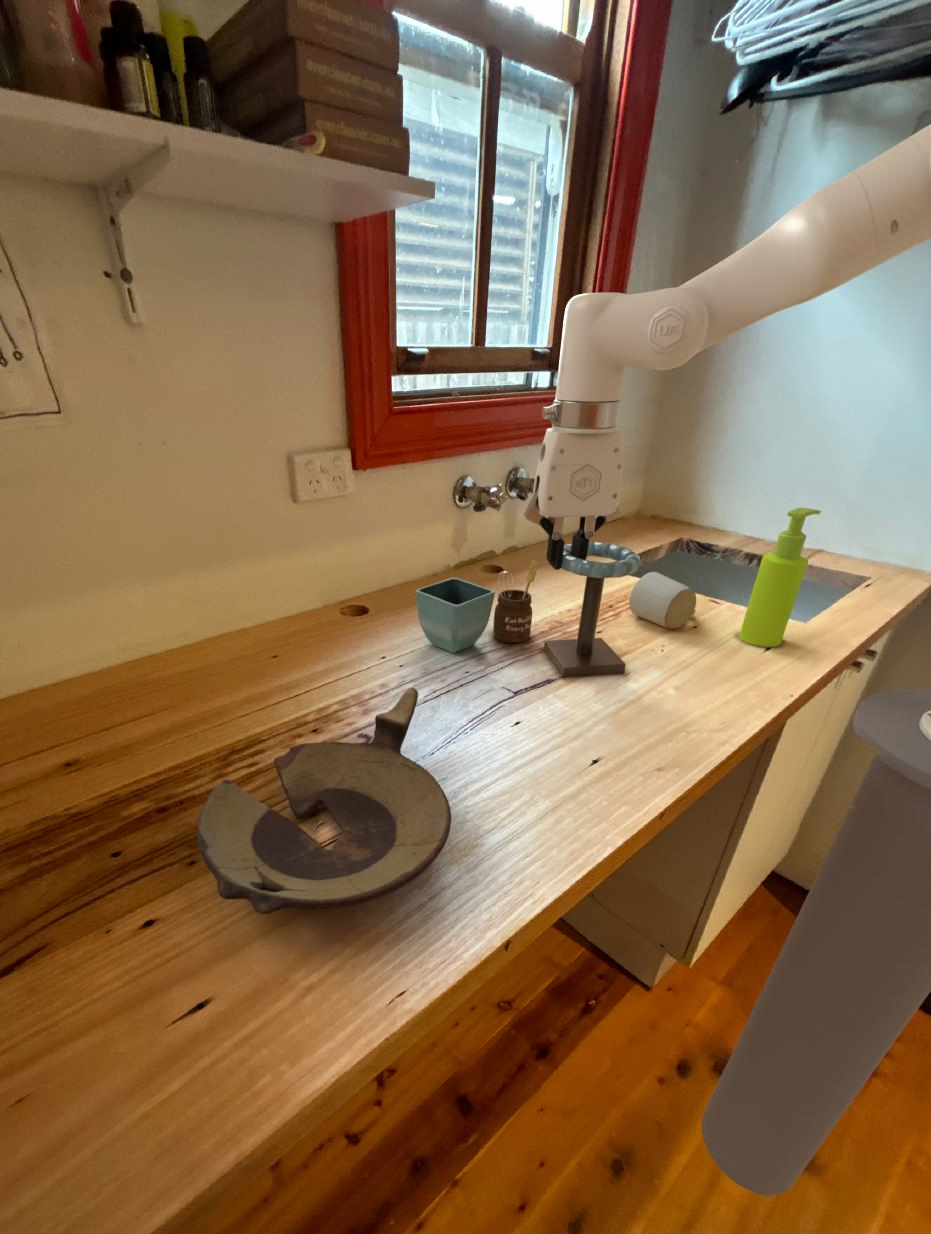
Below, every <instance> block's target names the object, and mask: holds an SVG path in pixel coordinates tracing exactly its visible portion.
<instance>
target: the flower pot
mask: <svg viewBox="0 0 931 1234" xmlns="http://www.w3.org/2000/svg"><path fill="white" fill-rule="evenodd" d="M495 594H496V591H495V590H493V589H490V588H488V587H484V586H481V585H479V584H476V583H473V582H470V581H468V580H464V579H461V578H458V577H450V578H446V579H443V580H441V581H438V582H436V583H435V582H434V583H433V584H429V585H426V586H423V587H420V588H417V589H415V600H416V601H415V602H416V609H417V616H418V621H419V624H420V627H421V630H422V632H423V634H424V635H425V637H426V639H427V640H428V642H429V643H430V644H432V645H434V646H436V647H438V648H440V649H443V650H444V651H447V652H449V653H452V654H456V653H458V652H459V651H462V650H464V649H467V648H469V647H471V646H474V645H475V644H476V643H477V642H478V640H479V639H480V638H481V636H482V635H483V633H484V632H485V630H486V628H487V626H488V623H489V620H490V617H491V613H492V608H493V605H494V604H493V603H494V599H495Z"/></svg>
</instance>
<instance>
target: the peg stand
mask: <svg viewBox="0 0 931 1234" xmlns="http://www.w3.org/2000/svg"><path fill="white" fill-rule="evenodd" d="M585 577H586V578H585V586H584V591H583V599H582V604H581V605H582V606H581V610H580V611H581V612H580V618H579V625H578V631H577V638H572V639H554V640H553V639H552V640H544V643H543V644H544V645H543V651H544V652H545V653H546V655H547V656H548V658H549V659H550V661H551V662H552V663H553V665H554V666H555V668H556V669H557V671H558V672H559V674H560V675H561V676H562V677H563V678H568V677H569V678H570V677H571V678H572V677H583V676H584V677H586V676H601V675H619V674H625V669H626V662H624V661H623V660H622V658H621V657H620V656H619V655H618V653H616V652H615V651H614V650H613V648H611V647H610V645H609V644H608V643H607V642H606V641H605V640H604V639H603V638H602V637H596V632H597V628H598V627H597V626H598V620H599V615H600V608H601V602H602V598H603V590H604V585H605V579H606V578H595V577H588V576H585Z"/></svg>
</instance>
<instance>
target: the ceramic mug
mask: <svg viewBox="0 0 931 1234" xmlns="http://www.w3.org/2000/svg"><path fill="white" fill-rule="evenodd" d="M696 606H697V595H696V592H695V591H694V590H693V589H692V588H690V587H689V586H687V585H686V584H683V583H681V582H678V581H676V580H674V579H673V578H670V577H669V576H667V575H664V574H662V573H659V572H657V571H650V572H647V573H646V574H643V576H641V578H639V579H638V581H637V582H636V583H635V585H634V586H633V588H632V590H631V593H630V595H629V602H628V607H629V610H630V612H631V613H632V614H634V616H635V615H636V616H638V618H639V617H640V618H642V619H644V620H647V621H649V622H651V623H654V624H655V625H659V626H661V627H663V628H667V629H678V628H680V627H682V626H684V624H686V623H687V622H688V621H689V619H693V617H694V615H695V614H696V612H697V610H696V609H695V608H696Z"/></svg>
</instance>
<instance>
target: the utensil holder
mask: <svg viewBox="0 0 931 1234" xmlns="http://www.w3.org/2000/svg"><path fill="white" fill-rule="evenodd" d="M539 564H540V562H539V561H537V560H535V559H532V561H531V564H530V567H529V570H528V572H527V575H526V581H527V583H526V586H525V590H522V589H514V577H513V575H512V574H510V571H507V570H505V571H504V570H503V571H501V572H500V574H499V575H498V576H497V578H498V579H500V578H502V583H505V581H504V580H505V579H504V578H505V575H502V574H506V575H508V573H509V574H510V576H511V584H512V586H511V588H512V589H505V588H502V591H501V586H502V587H504V584H501V586H500V580H498V581H497V583H498V589H499V593H498V596H497V604H496V605H495V608H494V613H493V625H492V626H493V628H492V629H493V630H492V631H493V636H494V638H495V639H497V640H498V641H500V642H504V643H509V644H517V643H523V642H525V641H527V640H529V638H530V635H531V630H532V621H533V607H532V605H531V604H532V594H531V593H529V592H528V590H529V588H530V585H531V583H533V582H534V580H535V577H536V573H537V570H538V567H539ZM506 577H507V578H506V579H507V580H506V581H508V585H511V584H510V580H509V579H510V577H509V576H506Z"/></svg>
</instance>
